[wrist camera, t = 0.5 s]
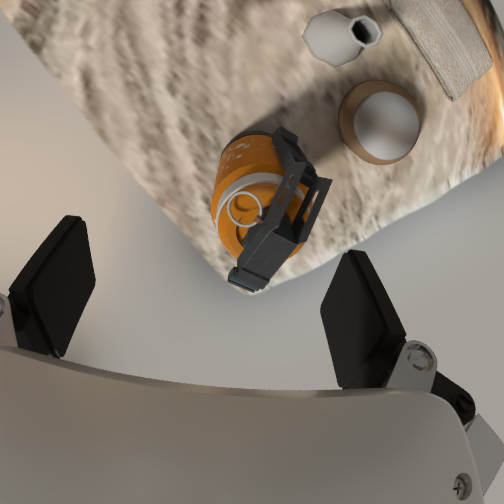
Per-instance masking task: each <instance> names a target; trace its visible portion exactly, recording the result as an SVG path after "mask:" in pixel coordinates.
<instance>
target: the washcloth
mask: <svg viewBox="0 0 504 504" xmlns="http://www.w3.org/2000/svg"><path fill="white" fill-rule="evenodd" d="M384 3H385V4H386V7H387V8H388V10H390V12H391V14H392V15H393V16H394V18H395V20H396V21H397V22H398V24H399V25H400V26H401V28H402V29H403V30H404V32H405V33H406V35H407V36H408V37H409V39H410V40H411V42H412V43H413V44H414V46H415V47H416V49H417V50H418V52H419V53H420V55H421V56H422V58H423V59H424V61H425V62H426V64H427V65H428V67H429V68H430V70H431V72H432V73H433V75H434V77H435V79H436V80H437V82H438V84H439V86H440V87H441V89H442V91H443V92H444V94H445V95H446V97H447V98H448V99H449V100H450V101H452V102H454V101H455V100H457V99H458V98H459V97H460V96H461V95H462V94H463V93H464V92H465V91H466V90H467V88H468V86H469V85H470V84H471V83H472V82H473V81H474V80H475V79H476V80H478V79H479V78H480V77H481V76H482V75H484V74H485V73H486V72H487V71H488V70H489V69H490V68H492V66H493V64H492V59H491V58H490V55H489V53H488V50H487V49H486V47H485V45H484V43H483V42H482V38H481V37H480V35H479V33H478V31H477V29H476V27H475V26H474V23H473V22H472V19H470V17H469V15H468V13H467V12H466V10H465V9H464V6H462V4H461V2H460V1H459V0H384Z"/></svg>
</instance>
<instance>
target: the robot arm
mask: <svg viewBox="0 0 504 504" xmlns="http://www.w3.org/2000/svg"><path fill="white" fill-rule="evenodd" d="M95 282H96V279H95V274H94V269H93V263H92V259H91V252H90V247H89V241H88V234H87V227H86V223H85V221H82V218H81V217H80V216H71V215H66V216H65V217H64V218H63V219H62V220H61V221H60V222H59V224H58V225H57V226H56V227H55V228H54V229H53V231H52V232H51V233H50V234H49V235H48V237H47V238H46V239H45V240H44V242H43V243H42V244H41V245H40V247H39V248H38V249H37V250H36V252H35V253H34V254H33V256H32V257H31V258H30V260H29V261H28V262H27V264H26V265H25V266H24V268H23V269H22V271H21V272H20V273H19V275H18V276H17V278H16V279H15V281H14V282H13V283H12V285H11V286H10V288H9V292H10V294H9V295H8V297H6V296H5V295H3V294H1V293H0V504H484V499H483V496H484V495H485V493H486V492H487V490H488V488H489V486H490V485H491V483H492V481H493V480H494V478H495V476H496V474H497V472H498V471H499V469H500V467H501V465H502V463H503V461H504V444H503V442H502V441H501V439H500V438H499V437H498V436H497V435H496V433H495V432H494V431H493V430H492V429H491V427H490V426H489V425H488V424H487V423H486V421H485V420H484V419H483V418H482V417H481V415H480V414H477V415H475V410H476V409H475V403H474V401H473V398H472V397H471V396H470V394H469V393H468V392H467V391H465V390H464V389H462V388H461V387H460V386H458V385H457V384H455V383H454V382H452V381H451V380H449V379H448V378H447V377H445V376H444V375H442V374H441V373H439V372H438V371H437V370H436V369H437V359H436V356H435V354H434V352H433V351H432V350H431V349H430V348H429V347H428V346H427V345H426V344H424V343H422V342H420V341H415V340H412V341H408V342H406V339H405V336H406V332H405V330H404V328H403V326H402V323H401V322H400V319H399V317H398V315H397V313H396V311H395V309H394V306H393V304H392V302H391V300H390V298H389V296H388V294H387V292H386V290H385V288H384V286H383V284H382V282H381V280H380V278H379V276H378V275H377V273H376V271H375V269H374V267H373V265H372V263H371V261H370V259H369V258H368V256H367V254H366V252H364V251H358V250H352V249H351V250H349V251H348V252H347V253H344V254H343V256H342V258H341V260H340V263H339V265H338V267H337V270H336V272H335V275H334V277H333V279H332V282H331V284H330V286H329V288H328V291H327V293H326V295H325V298H324V300H323V302H322V304H321V308H320V313H321V317H322V321H323V325H324V329H325V333H326V337H327V341H328V345H329V349H330V353H331V357H332V361H333V366H334V370H335V374H336V378H337V383H338V385H339V387H342V389H343V390H260V389H239V388H226V387H214V386H204V385H195V384H186V383H178V382H171V381H163V380H157V379H151V378H144V377H139V376H132V375H127V374H122V373H117V372H112V371H107V370H103V369H98V368H94V367H89V366H85V365H81V364H77V363H73V362H69V361H65V360H61V359H60V357H63V356H64V355H65V353H66V350H67V348H68V345H69V343H70V340H71V338H72V335H73V333H74V331H75V328H76V326H77V324H78V322H79V319H80V317H81V315H82V313H83V310H84V308H85V306H86V304H87V302H88V300H89V298H90V295H91V293H92V291H93V289H94V287H95Z"/></svg>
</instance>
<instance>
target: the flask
mask: <svg viewBox="0 0 504 504" xmlns="http://www.w3.org/2000/svg"><path fill="white" fill-rule="evenodd" d="M382 35H383V33H382V31H381V29H380V27H379V25H378V23H377V22H376V21H374V20H373V19H371V18H370V17H368V16H366V15H362V16H359V17H355V18H352V19H349V18H347V17H345V16H343V15H342V14H340V13H338V12H336V11H334V10H330V11H327V12H325V13H322V14H319V15H317V16H314V17H312V18H311V19H310V21H309V23H308V25H307V27H306V29H305V31H304V33H303V35H302V37H303V39H304V41H305V42H306V44H307V46H308V47H309V49H310V51H311V53H312V54H313V56H314V57H316V58H318V59H320V60H322V61H324V62H326V63H328V64H330V65H332V66H333V67H337V66H340V65H342V64H345V63H347V62H350V61H352V60H355V59H356V57H357V55H358V53H359V51H360V49H361V47H364V48H369V47H371V46H374V45H377V44H378V43H379V41H380V39H381V37H382Z"/></svg>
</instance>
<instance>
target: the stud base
mask: <svg viewBox="0 0 504 504" xmlns="http://www.w3.org/2000/svg"><path fill="white" fill-rule="evenodd" d="M338 126H339V131H340V134H341V137H342V139H343V140H344V142H345V144H346V145H347V146H348V147H349V149H350V150H351V151H353V152H354V153H355V154H356V155H357V156H358V157H359V158H361V159H362V160H364V161H366V162H368V163H371V164H376V165H388V164H392V163H395V162H397V161H399V160H401V159H402V158H404V157H405V156H406V155H407V154H408V153H409V152H410V151H411V150H412V149H413V147H414V146H415V144H416V142H417V139H418V137H419V133H420V126H421V122H420V114H419V110H418V107H417V105H416V103H415V101H414V99H413V98H412V97H411V95H410V94H409V93H408V92H407V91H406V90H404V89H403V88H402V87H400V86H398V85H396V84H394V83H390V82H386V81H381V80H369V81H365V82H362V83H360V84H358V85H356V86H355V87H353V88H352V89H351V90H350V91H349V92H348V93H347V94H346V96H345V97H344V99H343V101H342V103H341V105H340V109H339V114H338Z"/></svg>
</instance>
